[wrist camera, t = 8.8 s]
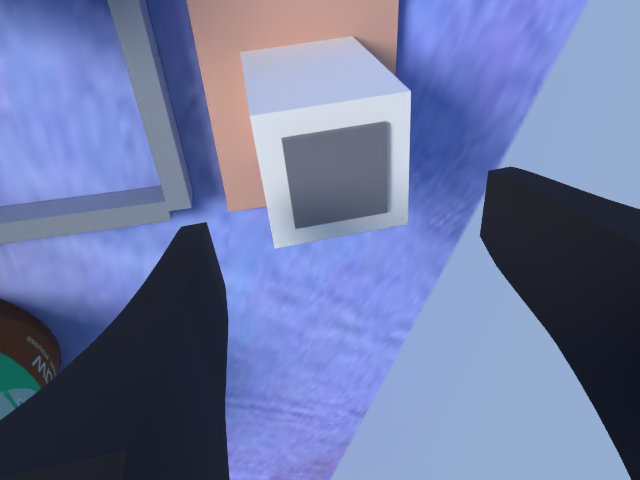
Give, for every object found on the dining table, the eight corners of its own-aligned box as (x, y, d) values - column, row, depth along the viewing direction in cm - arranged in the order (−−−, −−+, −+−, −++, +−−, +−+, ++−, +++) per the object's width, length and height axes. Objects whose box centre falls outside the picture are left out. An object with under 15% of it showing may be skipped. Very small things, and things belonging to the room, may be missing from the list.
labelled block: (352, 36, 18) (413, 93, 13) (357, 140, 21) (409, 227, 15) (240, 52, 18) (250, 118, 12) (259, 156, 21) (275, 252, 15)
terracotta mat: (396, -48, 17) (400, -47, 17) (387, 183, 23) (390, 189, 23) (181, -32, 17) (180, -30, 16) (228, 205, 22) (228, 211, 22)
